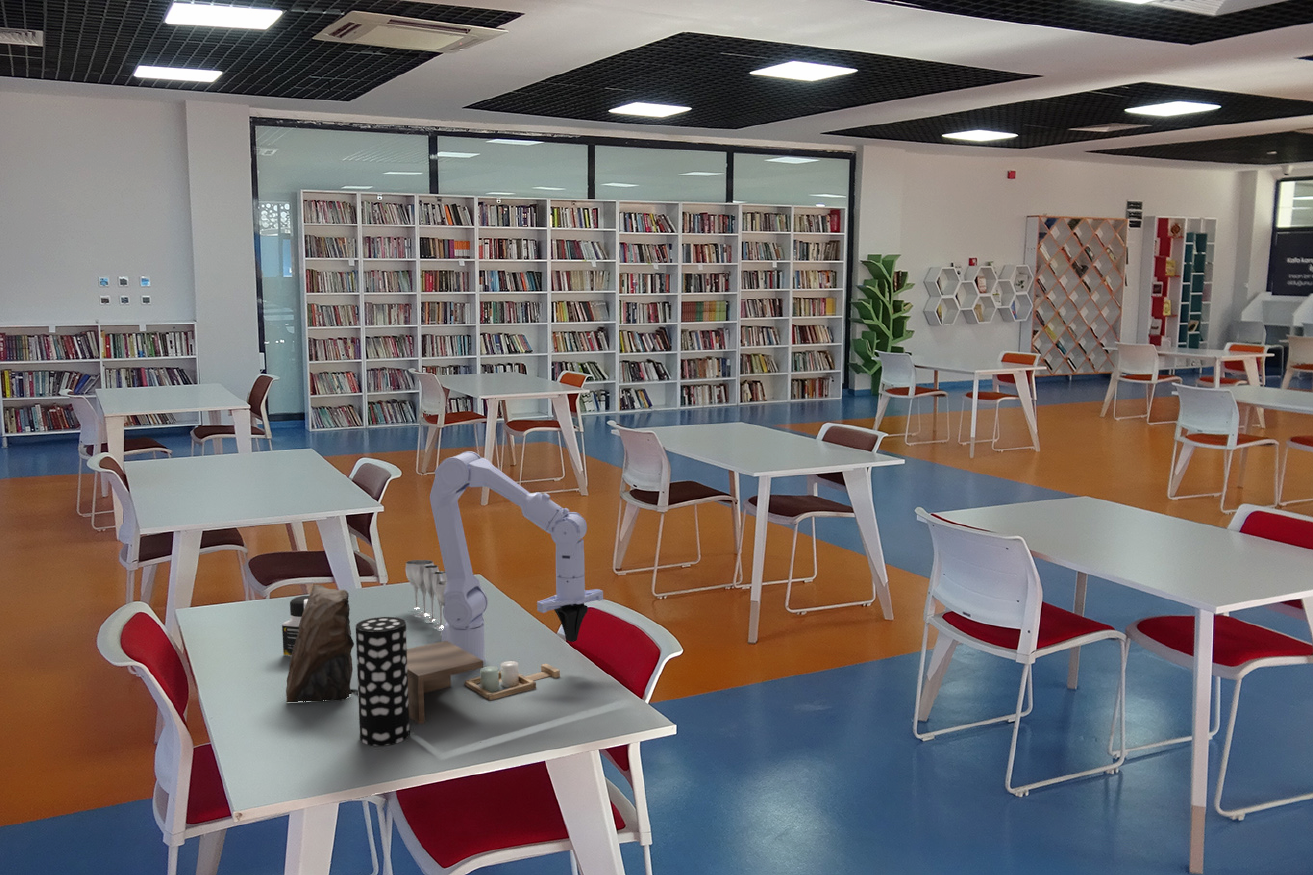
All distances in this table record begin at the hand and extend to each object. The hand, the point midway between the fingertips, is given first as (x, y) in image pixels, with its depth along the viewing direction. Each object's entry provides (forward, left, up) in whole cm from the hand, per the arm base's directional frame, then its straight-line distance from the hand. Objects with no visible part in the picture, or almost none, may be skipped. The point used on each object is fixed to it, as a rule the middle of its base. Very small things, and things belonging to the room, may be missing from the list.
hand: (571, 640), depth 212 cm
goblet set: (-49, -7, -7) cm, 50 cm away
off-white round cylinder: (0, -14, -6) cm, 15 cm away
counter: (0, -30, -7) cm, 30 cm away
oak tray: (0, -13, -7) cm, 15 cm away
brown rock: (-21, -45, -7) cm, 50 cm away
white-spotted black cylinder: (+6, -43, -7) cm, 44 cm away
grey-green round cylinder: (0, -19, -6) cm, 20 cm away
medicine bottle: (-46, -38, -7) cm, 60 cm away
